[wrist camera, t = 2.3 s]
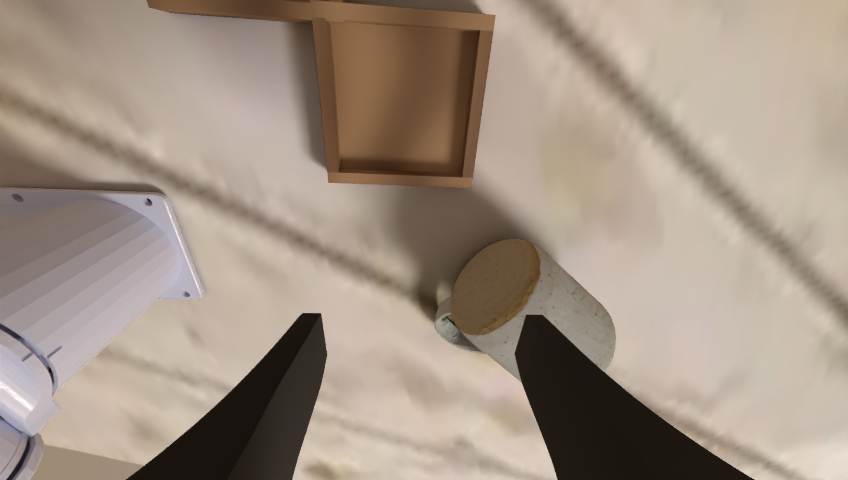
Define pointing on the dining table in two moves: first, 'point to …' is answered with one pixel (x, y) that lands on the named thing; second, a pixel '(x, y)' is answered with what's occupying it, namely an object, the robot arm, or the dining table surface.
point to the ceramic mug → (521, 305)
